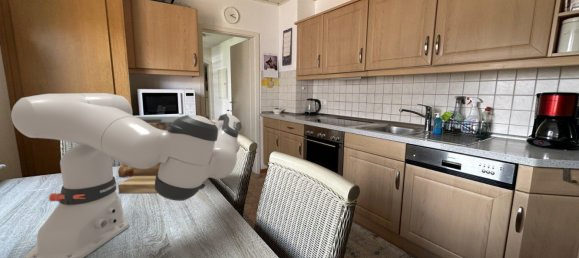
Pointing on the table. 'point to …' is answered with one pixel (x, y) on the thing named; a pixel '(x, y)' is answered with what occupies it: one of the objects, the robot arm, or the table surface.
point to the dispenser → (154, 170)
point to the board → (138, 185)
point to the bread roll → (125, 171)
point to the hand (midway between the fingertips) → (177, 117)
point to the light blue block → (163, 118)
